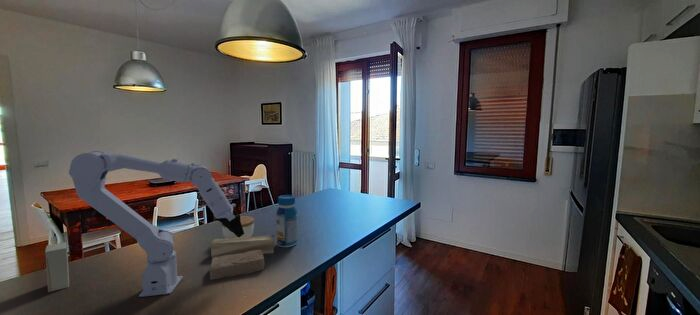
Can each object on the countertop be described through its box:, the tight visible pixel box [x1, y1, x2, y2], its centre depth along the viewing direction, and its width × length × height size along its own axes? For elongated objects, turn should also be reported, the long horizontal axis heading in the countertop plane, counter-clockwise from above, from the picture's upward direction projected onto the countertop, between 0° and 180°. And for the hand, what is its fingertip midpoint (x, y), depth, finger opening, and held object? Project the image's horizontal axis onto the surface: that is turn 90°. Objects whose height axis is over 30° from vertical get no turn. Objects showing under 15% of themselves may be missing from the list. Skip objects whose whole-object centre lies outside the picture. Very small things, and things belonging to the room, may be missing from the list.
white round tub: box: [221, 215, 255, 239], centre depth 117 cm, size 13×13×11 cm
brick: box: [209, 250, 265, 281], centre depth 93 cm, size 17×8×5 cm, turn 114°
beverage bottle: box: [275, 194, 298, 248], centre depth 114 cm, size 8×8×20 cm
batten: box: [210, 235, 275, 259], centre depth 106 cm, size 4×22×6 cm, turn 102°
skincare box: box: [45, 241, 70, 293], centre depth 82 cm, size 6×4×12 cm
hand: (237, 232), depth 93 cm, fingers open, 7 cm apart
